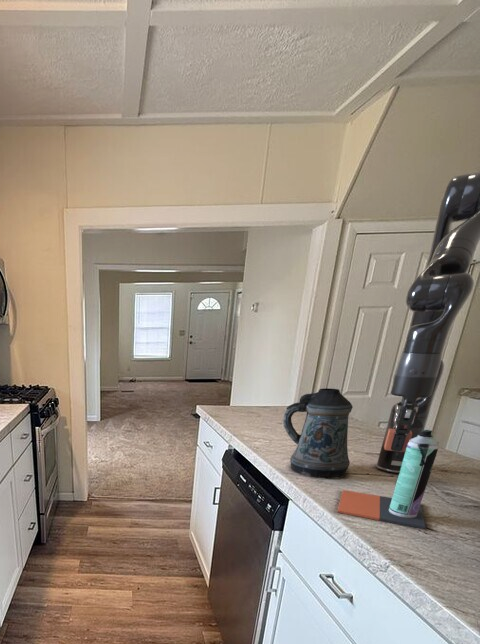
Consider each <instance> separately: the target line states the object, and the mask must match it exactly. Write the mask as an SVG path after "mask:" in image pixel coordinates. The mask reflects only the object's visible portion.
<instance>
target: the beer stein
mask: <svg viewBox="0 0 480 644" xmlns="http://www.w3.org/2000/svg"><path fill="white" fill-rule="evenodd" d="M353 408H354V406H353V405H352V403H351V401H350V400H348V399H347V398H346V397H345V396H344V395H343V394H342V393H341V390H340V389H339V388H325V387H324V388H319V389H318V391H317V392H312V393H305V394H303V395H301V396H300V398H299V401H298V402H293V403H292V404H290V405H288V406H287V407H286V410H285V412H284V413H283V417H282V418H283V419H282V421H283V422H282V423H283V427H284V429H285V432H286V433H287V435H288V436H289V438H290V439H291V440H292V441H293V443H295V444H296V445H297V446H296V448H295V450H294V452H293V453H292V454H291V456H290V459H289V460H290V469H291V470H292V471H293V472H294V473H297V474H300V475H301V476H307V477H310V478H316V479H340V478H343V477H344V476H345V475H346V474H347V471H348V469H349V467H350V464H351V461H350V459H349V452H348V434H349V433H348V432H349V431H348V430H349V415H350V413H351V412H352V410H353ZM295 413H306V417H305V419H304V423H303V425H302V430H301V434H299V433H298V432H297V430H296V428H295V427H294V425H293V422H292V418H293V415H294V414H295Z"/></svg>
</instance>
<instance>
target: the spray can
mask: <svg viewBox="0 0 480 644" xmlns="http://www.w3.org/2000/svg"><path fill="white" fill-rule="evenodd" d="M432 433H433V430H431V429H424V430H423V431H422V433H421V434H420V435H418V437H415V438H412V439H410V440H409V441H410V442H408V445H407V448H406V452H405V455H404V459H403V462H402V466H401V469H400V473H398V476H397V480H396V484H395V487H394V491H393V494H392V497H391V498H392V500H391V504H390V507H389V512H390V513H392V514H394V515H396V516H400V517H405V518H414V517H416V516H417V514H418V511H419V507H420V504H421V505H422V501H423V498H424V494H425V491H426V488H427V486H428V482H429V480H430V475H431V472H432V470H433V466H434V463H435V460H436V457H437V454H438V451H439V448H440V442H439V441H438V440H436V439H435V437H434V435H433V434H432Z"/></svg>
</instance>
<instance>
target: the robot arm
mask: <svg viewBox="0 0 480 644" xmlns="http://www.w3.org/2000/svg"><path fill="white" fill-rule="evenodd" d="M459 222H462V223H460V224H459V225H457V226H456V227H454V229H452V228H453V227H452V226H453V223H459ZM479 243H480V171H477V172H471V173H464V174H459V175H455V176H453V177H452V178H451V179H450V180H449V181H448V183H447V185H446V187H445V189H444V191H443V195H442V198H441V201H440V204H439V209H438V214H437V217H436V223H435V228H434V232H433V237H432V242H431V246H430V251H429V254H428V258H427V262H426V265H425V268H424V270H422V271H421V273H420V274H419V275H418V276H417V277H416V278H415V279H414V280H413V282H412V283H411V285H410V286H409V289H408V290H407V293H406V296H405V304H406V307H407V309H409V310H410V311H411V312H412V315H411V319H410V322H409V327H408V332H407V335H406V338H405V341H404V345H403V348H402V351H401V354H400V357H399V360H398V362H397V366H396V368H395V371H394V375H393V380H392V387H391V389H390V394H391V395H392V396H396V397H401V401H398V402H396V403H394V404H393V405H392V406H391V410H390V412H389V417H388V421H387V424H386V429H385V433H384V436H383V439H382V444H381V448H380V450H379V455H378V458H377V463H376V465H375V468H377V469H378V470H380V471H384V472H387V473H392V474H399V473H400V469H401V466H402V462H403V459H404V455H405V452H399V451H402V449H403V445H404V442H405V438H406V436H407V434H409V433H410V430H411V432H412V438H415V437H418V435H420V434H421V433H422V431H423V430H426V425H427V423H428V422H427V421H428V419H429V416H430V412H431V409H432V406H433V402H434V400H435V399H434V398H435V395H436V394H437V390H438V387H439V385H440V382H441V381H442V376H443V374H444V369H445V363H444V360H443V359H442V356H443V352H444V348H445V345H446V342H447V340H448V339H447V338H448V335H449V333H450V331H451V328H452V325H453V324H454V322H455V320H456V318H457V317H458V315H459V313H460V312H461V310H462V308H463V307H464V305H465V304H466V302H467V301H468V300H469V298H470V296H471V295H472V292H473V290H474V285H475V280H474V277H473V275H471V274H470V273H468V270H469V269H470V266H471V263H472V261H473V258H474V256H475V252H476V250H477V247H478V245H479ZM389 429H395V431H394V438H393V441H392V445H391V450H394V451H390V450H385V448H384V445H385V441H386V438H387V434H388V430H389ZM412 438H411V439H412Z"/></svg>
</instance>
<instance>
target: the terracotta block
mask: <svg viewBox="0 0 480 644" xmlns="http://www.w3.org/2000/svg"><path fill="white" fill-rule="evenodd" d="M394 431H395V429H389V430H388V434H387V438H386V441H385V445H384V448H385V450H390V451H394V450H391V445H392V441H393V438H394ZM411 438H412V432H411V430H410V433H409V434H407V436H406V438H405V442H404V445H403V449H402V451H399V452H406V448H407V445H408V442H410V441H409V440H410V439H411Z"/></svg>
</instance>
